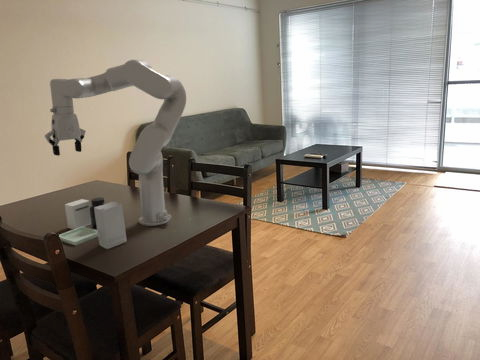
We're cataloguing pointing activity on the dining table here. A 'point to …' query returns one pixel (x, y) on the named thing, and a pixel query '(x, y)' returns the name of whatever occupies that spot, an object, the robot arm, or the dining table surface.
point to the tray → (78, 235)
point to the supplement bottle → (95, 203)
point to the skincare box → (110, 224)
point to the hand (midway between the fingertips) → (68, 153)
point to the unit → (78, 214)
